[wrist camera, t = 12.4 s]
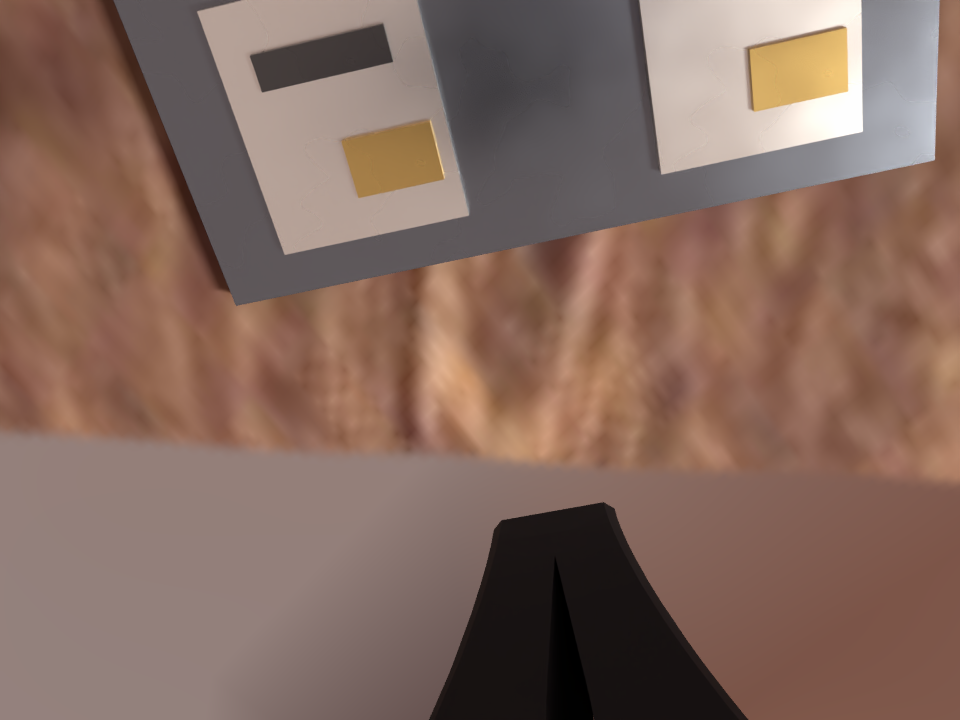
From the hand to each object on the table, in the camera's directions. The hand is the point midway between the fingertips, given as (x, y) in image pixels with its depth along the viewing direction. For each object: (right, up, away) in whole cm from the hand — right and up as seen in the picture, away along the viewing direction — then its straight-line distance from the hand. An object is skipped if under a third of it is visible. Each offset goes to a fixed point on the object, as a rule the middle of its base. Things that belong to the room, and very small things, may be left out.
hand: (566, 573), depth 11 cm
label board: (0, +8, +7) cm, 11 cm away
